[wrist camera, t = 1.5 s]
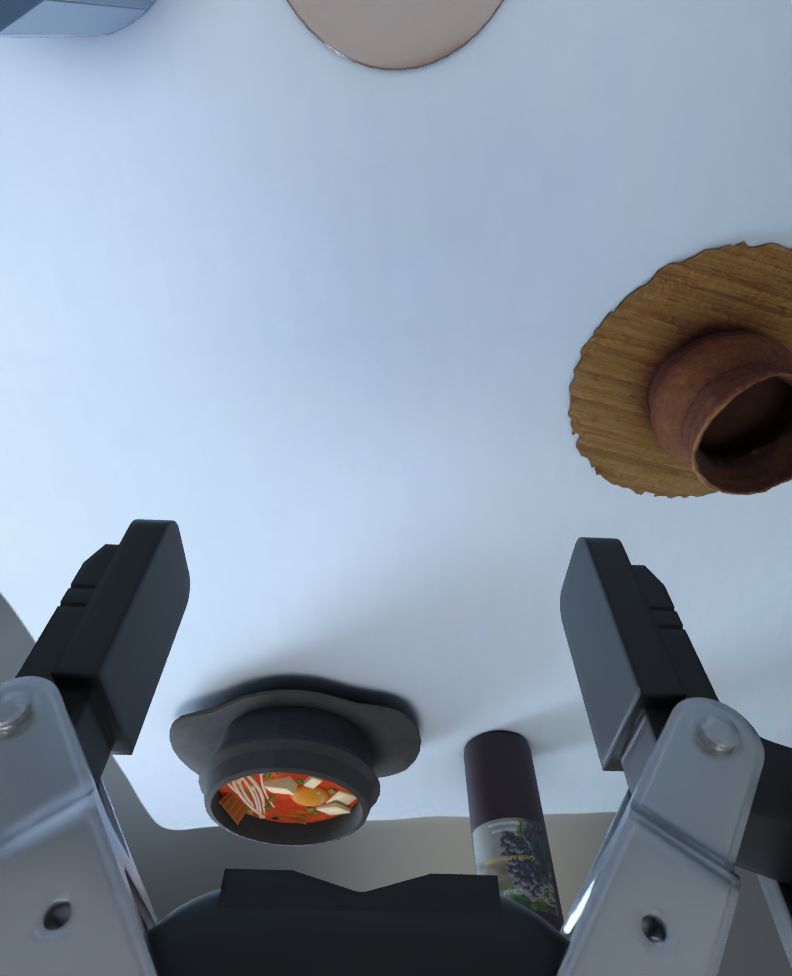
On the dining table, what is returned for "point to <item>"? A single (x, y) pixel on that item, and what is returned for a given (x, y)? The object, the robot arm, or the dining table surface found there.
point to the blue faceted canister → (67, 17)
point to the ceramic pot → (693, 378)
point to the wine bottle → (510, 823)
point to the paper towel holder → (395, 28)
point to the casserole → (293, 763)
